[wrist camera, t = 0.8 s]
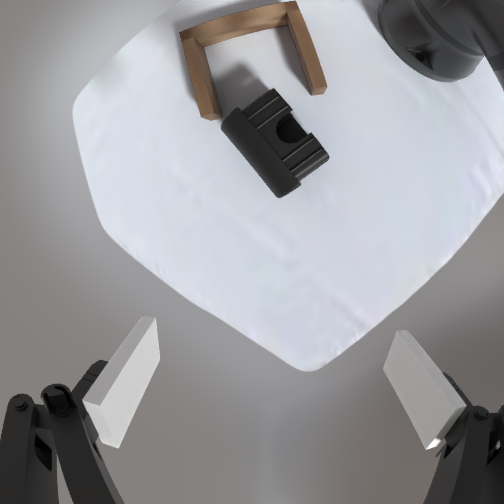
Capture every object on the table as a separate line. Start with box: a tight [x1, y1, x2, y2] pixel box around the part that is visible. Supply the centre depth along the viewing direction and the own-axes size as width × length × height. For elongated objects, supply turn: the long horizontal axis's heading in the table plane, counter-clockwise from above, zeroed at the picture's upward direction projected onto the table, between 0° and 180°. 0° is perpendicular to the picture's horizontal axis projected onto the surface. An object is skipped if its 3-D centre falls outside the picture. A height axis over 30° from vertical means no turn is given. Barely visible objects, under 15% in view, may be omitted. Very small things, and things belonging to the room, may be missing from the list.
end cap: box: [221, 88, 329, 198], centre depth 28 cm, size 10×7×7 cm
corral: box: [179, 1, 327, 121], centre depth 26 cm, size 14×12×4 cm
